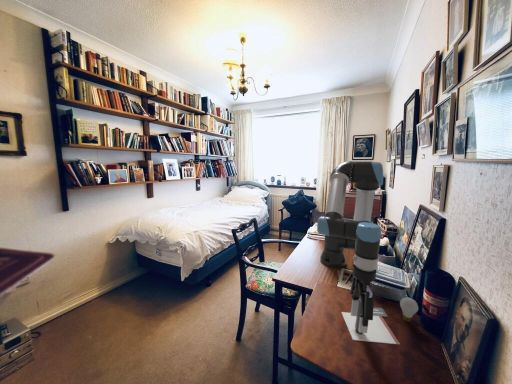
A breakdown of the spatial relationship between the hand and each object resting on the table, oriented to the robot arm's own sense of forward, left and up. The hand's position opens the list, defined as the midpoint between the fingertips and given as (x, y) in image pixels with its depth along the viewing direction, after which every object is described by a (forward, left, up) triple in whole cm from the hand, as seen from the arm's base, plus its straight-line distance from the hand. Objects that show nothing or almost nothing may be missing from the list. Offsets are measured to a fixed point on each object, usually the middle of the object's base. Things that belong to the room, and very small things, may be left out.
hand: (358, 323), depth 80 cm
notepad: (-3, +5, -4) cm, 7 cm away
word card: (-12, +12, -4) cm, 17 cm away
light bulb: (-8, +22, -4) cm, 24 cm away
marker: (0, +1, -3) cm, 3 cm away
